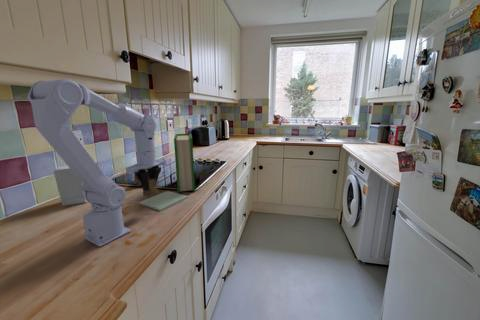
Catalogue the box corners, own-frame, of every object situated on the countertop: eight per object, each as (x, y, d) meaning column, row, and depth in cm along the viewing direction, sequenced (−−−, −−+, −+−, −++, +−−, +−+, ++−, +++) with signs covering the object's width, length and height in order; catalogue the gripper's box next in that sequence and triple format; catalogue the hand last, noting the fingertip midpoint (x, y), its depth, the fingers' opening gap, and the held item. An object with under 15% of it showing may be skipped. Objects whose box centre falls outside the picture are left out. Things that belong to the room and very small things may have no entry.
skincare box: (89, 197, 96) (83, 163, 93) (85, 203, 90) (79, 167, 87) (65, 200, 93) (59, 165, 90) (60, 206, 88) (52, 169, 84)
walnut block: (150, 197, 79) (149, 180, 78) (143, 195, 81) (141, 178, 80) (156, 194, 81) (155, 178, 80) (149, 192, 83) (147, 176, 82)
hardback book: (195, 191, 102) (192, 138, 96) (177, 193, 100) (173, 138, 94) (193, 179, 118) (191, 133, 113) (179, 181, 117) (175, 134, 111)
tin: (140, 188, 107) (138, 170, 105) (134, 187, 108) (132, 170, 106) (157, 178, 121) (156, 163, 120) (152, 178, 122) (150, 162, 120)
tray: (160, 210, 83) (160, 208, 83) (139, 203, 89) (139, 201, 89) (187, 197, 95) (187, 195, 95) (167, 192, 101) (167, 190, 101)
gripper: (155, 146, 86) (158, 181, 89) (118, 153, 74) (123, 192, 77) (168, 148, 82) (171, 184, 85) (131, 155, 70) (136, 197, 73)
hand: (149, 188), depth 81 cm, fingers closed on walnut block, 2 cm apart
